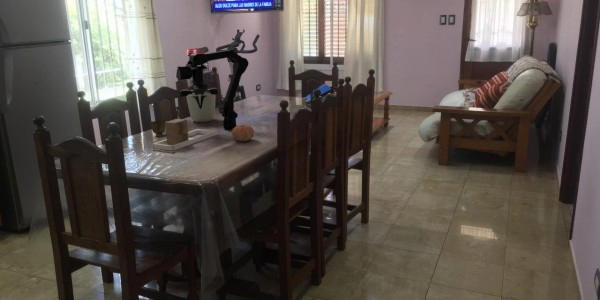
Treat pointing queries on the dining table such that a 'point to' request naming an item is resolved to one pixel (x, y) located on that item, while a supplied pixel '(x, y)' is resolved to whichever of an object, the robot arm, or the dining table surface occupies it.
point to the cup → (158, 127)
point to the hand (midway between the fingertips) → (200, 108)
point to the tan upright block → (176, 131)
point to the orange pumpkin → (243, 133)
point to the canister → (207, 108)
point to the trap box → (164, 145)
